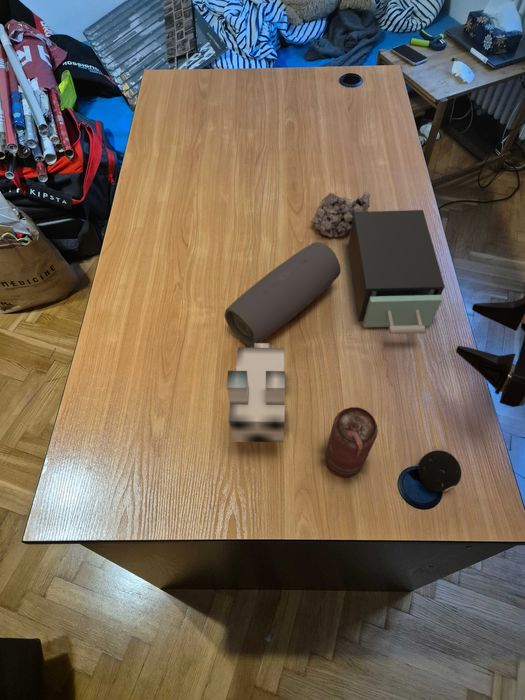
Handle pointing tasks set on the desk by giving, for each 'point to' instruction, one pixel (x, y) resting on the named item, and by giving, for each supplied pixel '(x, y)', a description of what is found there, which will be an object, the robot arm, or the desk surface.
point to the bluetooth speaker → (282, 293)
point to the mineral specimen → (338, 214)
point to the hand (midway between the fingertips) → (465, 326)
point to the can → (350, 441)
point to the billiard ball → (439, 471)
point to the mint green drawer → (401, 310)
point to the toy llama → (257, 395)
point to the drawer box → (391, 254)
